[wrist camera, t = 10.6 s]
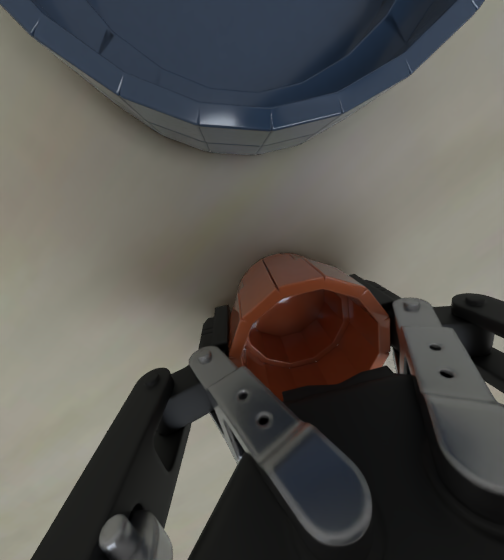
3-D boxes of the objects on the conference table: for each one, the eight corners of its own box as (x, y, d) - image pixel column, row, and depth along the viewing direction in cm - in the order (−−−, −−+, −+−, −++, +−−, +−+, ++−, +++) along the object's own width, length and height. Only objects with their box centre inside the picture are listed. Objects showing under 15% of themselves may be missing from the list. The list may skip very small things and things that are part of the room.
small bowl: (327, 234, 13) (390, 259, 8) (337, 328, 15) (391, 394, 10) (217, 260, 13) (210, 303, 8) (243, 351, 15) (251, 429, 10)
